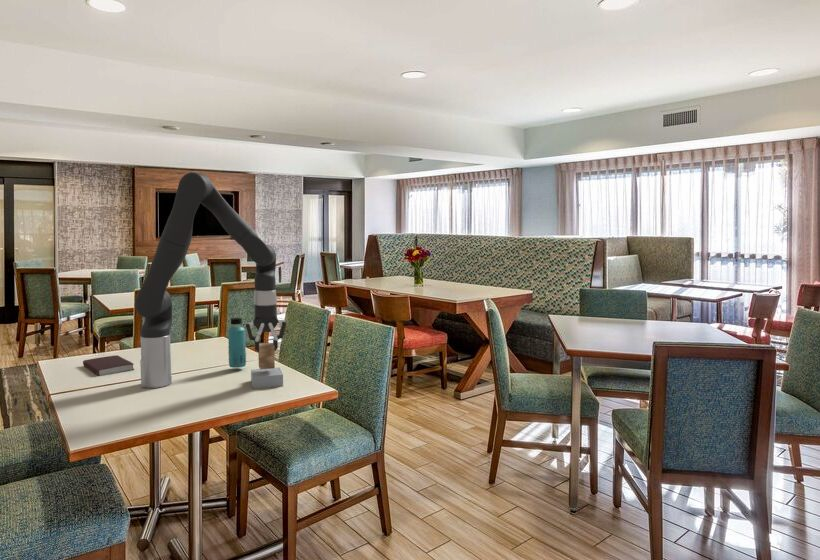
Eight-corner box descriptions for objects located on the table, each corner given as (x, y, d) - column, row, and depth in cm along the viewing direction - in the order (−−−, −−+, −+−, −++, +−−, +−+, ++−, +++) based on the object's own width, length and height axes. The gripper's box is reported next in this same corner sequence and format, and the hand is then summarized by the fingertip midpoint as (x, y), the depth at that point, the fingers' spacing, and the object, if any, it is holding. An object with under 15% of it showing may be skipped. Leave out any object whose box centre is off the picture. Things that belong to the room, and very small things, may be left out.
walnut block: (259, 369, 186) (259, 346, 185) (258, 365, 191) (258, 343, 190) (274, 368, 188) (274, 345, 187) (273, 364, 192) (272, 342, 192)
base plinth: (253, 388, 183) (252, 377, 183) (251, 380, 193) (251, 369, 192) (283, 385, 187) (282, 374, 186) (279, 378, 196) (279, 367, 196)
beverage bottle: (241, 372, 204) (240, 319, 202) (225, 371, 205) (223, 319, 203) (249, 367, 210) (248, 316, 208) (234, 366, 211) (232, 316, 209)
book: (97, 377, 196) (97, 369, 196) (82, 367, 210) (82, 359, 209) (134, 371, 205) (134, 363, 205) (118, 362, 218) (117, 354, 218)
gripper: (244, 305, 181) (245, 355, 183) (287, 303, 186) (288, 352, 188) (243, 302, 188) (244, 350, 190) (285, 300, 193) (286, 347, 195)
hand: (266, 350), depth 189 cm, fingers closed on walnut block, 5 cm apart
